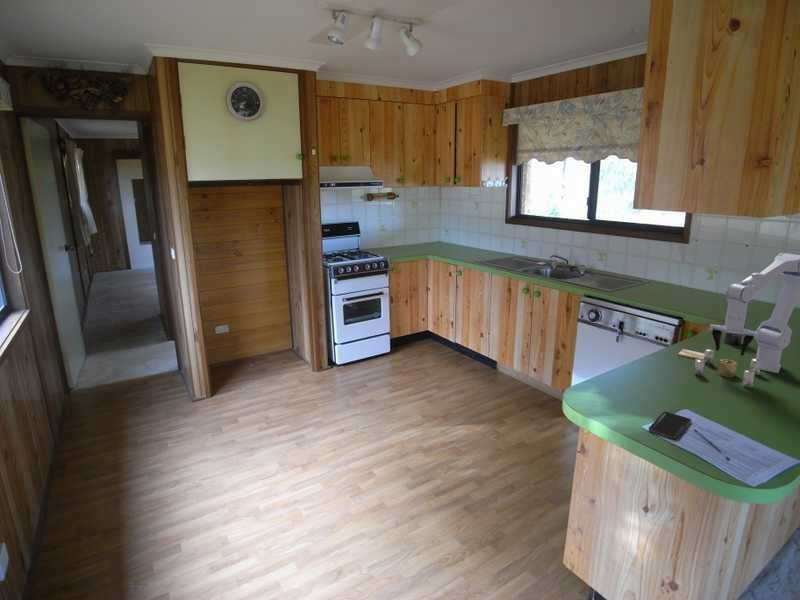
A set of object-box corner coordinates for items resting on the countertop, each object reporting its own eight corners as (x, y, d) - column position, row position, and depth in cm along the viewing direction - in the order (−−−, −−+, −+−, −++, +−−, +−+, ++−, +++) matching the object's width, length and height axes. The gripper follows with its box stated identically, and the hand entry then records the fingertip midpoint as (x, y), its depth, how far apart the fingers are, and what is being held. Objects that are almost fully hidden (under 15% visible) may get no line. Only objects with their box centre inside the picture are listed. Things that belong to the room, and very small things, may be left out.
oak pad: (682, 350, 201) (682, 349, 200) (707, 356, 195) (707, 354, 194) (678, 355, 196) (678, 353, 195) (703, 360, 190) (703, 358, 189)
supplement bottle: (733, 346, 205) (738, 319, 202) (719, 341, 212) (723, 315, 209) (746, 344, 207) (750, 318, 204) (731, 339, 213) (735, 314, 210)
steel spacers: (704, 361, 189) (706, 348, 188) (759, 373, 177) (762, 359, 175) (692, 374, 176) (694, 360, 175) (751, 388, 164) (754, 373, 163)
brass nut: (719, 370, 180) (722, 357, 179) (735, 373, 177) (737, 361, 176) (716, 374, 176) (718, 361, 175) (732, 378, 173) (734, 365, 172)
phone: (647, 428, 138) (664, 410, 148) (647, 432, 138) (663, 414, 148) (678, 438, 132) (692, 419, 143) (677, 442, 133) (692, 422, 143)
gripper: (709, 315, 173) (704, 350, 177) (758, 323, 163) (751, 360, 167) (714, 311, 178) (708, 345, 181) (761, 319, 168) (755, 354, 172)
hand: (729, 352), depth 174 cm, fingers open, 7 cm apart
